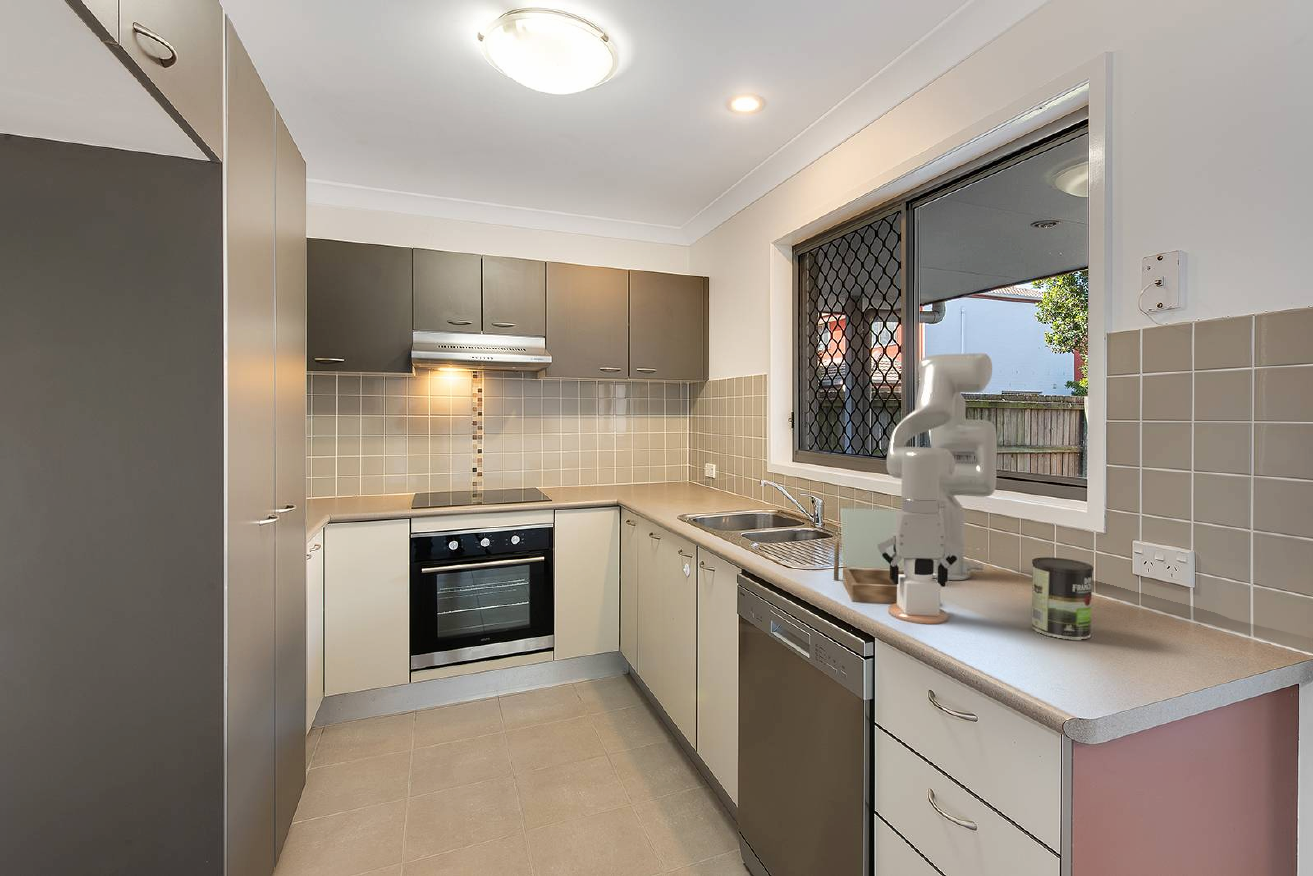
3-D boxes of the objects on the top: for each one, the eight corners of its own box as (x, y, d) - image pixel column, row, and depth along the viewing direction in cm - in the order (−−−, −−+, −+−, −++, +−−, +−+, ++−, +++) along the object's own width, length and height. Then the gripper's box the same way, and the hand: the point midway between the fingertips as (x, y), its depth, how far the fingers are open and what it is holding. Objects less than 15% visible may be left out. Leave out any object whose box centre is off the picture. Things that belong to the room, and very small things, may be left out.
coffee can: (1101, 635, 121) (1104, 565, 121) (1072, 644, 117) (1074, 572, 116) (1048, 619, 131) (1050, 554, 130) (1019, 627, 126) (1021, 560, 125)
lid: (913, 569, 155) (911, 570, 157) (909, 510, 160) (907, 511, 161) (843, 566, 158) (842, 567, 160) (841, 508, 162) (840, 509, 164)
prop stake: (838, 579, 162) (838, 538, 161) (838, 580, 160) (839, 539, 160) (833, 579, 162) (834, 538, 161) (834, 580, 161) (834, 539, 160)
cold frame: (913, 586, 155) (913, 570, 155) (930, 605, 140) (930, 588, 140) (842, 583, 158) (843, 567, 158) (852, 601, 143) (852, 584, 143)
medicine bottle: (929, 606, 137) (930, 553, 136) (940, 616, 130) (941, 561, 129) (896, 605, 138) (897, 552, 137) (905, 615, 131) (906, 560, 130)
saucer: (938, 607, 139) (938, 603, 139) (955, 625, 127) (955, 621, 127) (883, 604, 141) (883, 601, 141) (895, 622, 129) (895, 618, 129)
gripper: (956, 505, 135) (954, 581, 136) (874, 503, 138) (873, 577, 138) (967, 510, 128) (965, 591, 128) (881, 508, 130) (880, 587, 131)
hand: (918, 584), depth 133 cm, fingers open, 9 cm apart
